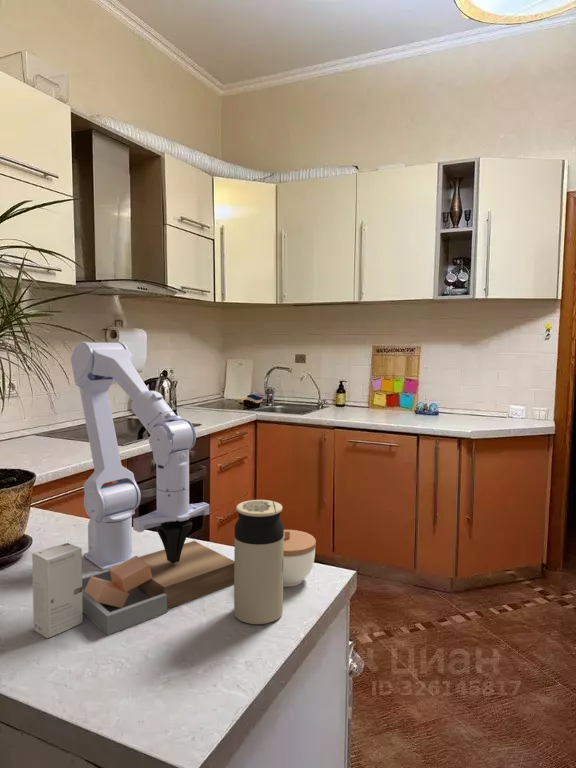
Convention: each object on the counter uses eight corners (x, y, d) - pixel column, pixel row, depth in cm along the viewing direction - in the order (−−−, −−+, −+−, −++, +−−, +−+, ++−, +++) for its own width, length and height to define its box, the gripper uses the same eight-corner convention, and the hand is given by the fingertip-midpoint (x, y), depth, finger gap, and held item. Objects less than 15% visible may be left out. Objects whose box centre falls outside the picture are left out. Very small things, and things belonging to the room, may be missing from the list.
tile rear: (112, 582, 92) (109, 569, 91) (138, 568, 95) (135, 555, 94) (125, 592, 88) (122, 579, 87) (152, 577, 91) (149, 564, 91)
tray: (67, 598, 92) (67, 581, 92) (123, 580, 99) (122, 564, 99) (107, 635, 81) (107, 616, 80) (167, 612, 88) (166, 594, 87)
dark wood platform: (125, 582, 98) (124, 561, 98) (194, 559, 109) (194, 540, 108) (164, 610, 88) (164, 587, 88) (236, 583, 99) (236, 562, 98)
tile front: (116, 582, 92) (109, 597, 92) (91, 576, 89) (84, 591, 89) (129, 593, 89) (122, 608, 88) (104, 586, 86) (96, 601, 85)
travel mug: (230, 625, 84) (231, 513, 83) (237, 600, 92) (238, 498, 91) (281, 627, 84) (282, 514, 82) (284, 602, 92) (285, 499, 90)
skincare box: (48, 639, 79) (46, 560, 78) (31, 630, 82) (29, 553, 81) (84, 622, 84) (83, 547, 83) (68, 613, 87) (67, 541, 86)
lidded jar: (247, 584, 98) (247, 534, 97) (275, 563, 108) (276, 517, 107) (299, 598, 93) (300, 545, 92) (324, 574, 103) (325, 527, 102)
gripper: (147, 500, 88) (147, 579, 89) (219, 484, 98) (218, 556, 99) (127, 491, 93) (128, 566, 94) (197, 477, 103) (197, 545, 104)
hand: (173, 560), depth 97 cm, fingers closed
